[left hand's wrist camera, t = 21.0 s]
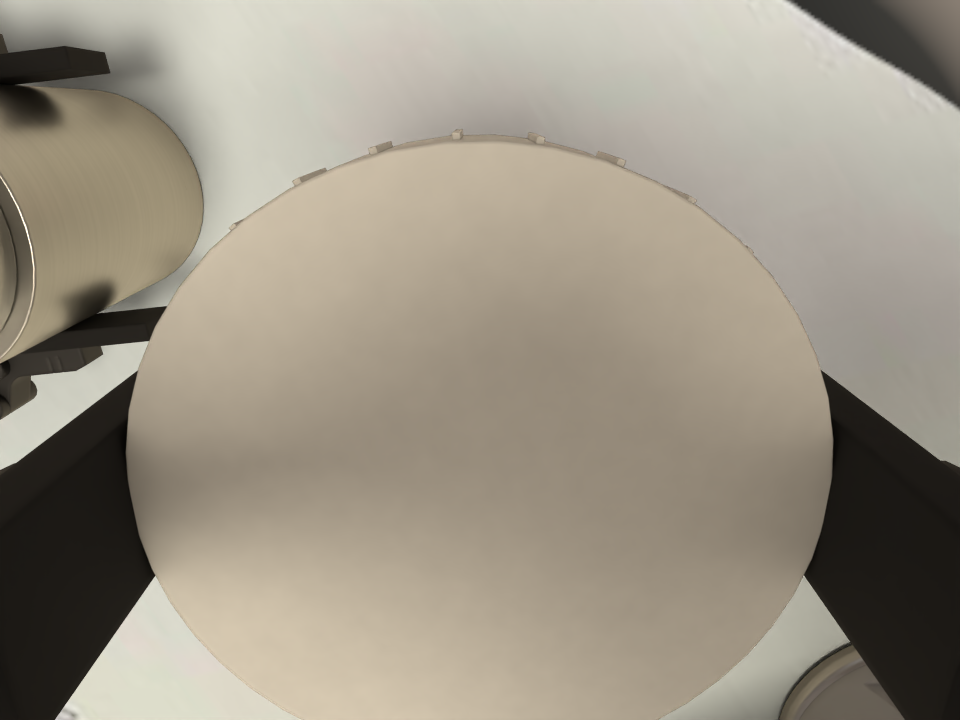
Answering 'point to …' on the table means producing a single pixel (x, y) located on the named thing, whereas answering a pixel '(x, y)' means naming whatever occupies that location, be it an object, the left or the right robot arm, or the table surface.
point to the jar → (85, 207)
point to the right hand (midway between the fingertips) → (128, 199)
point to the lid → (479, 441)
